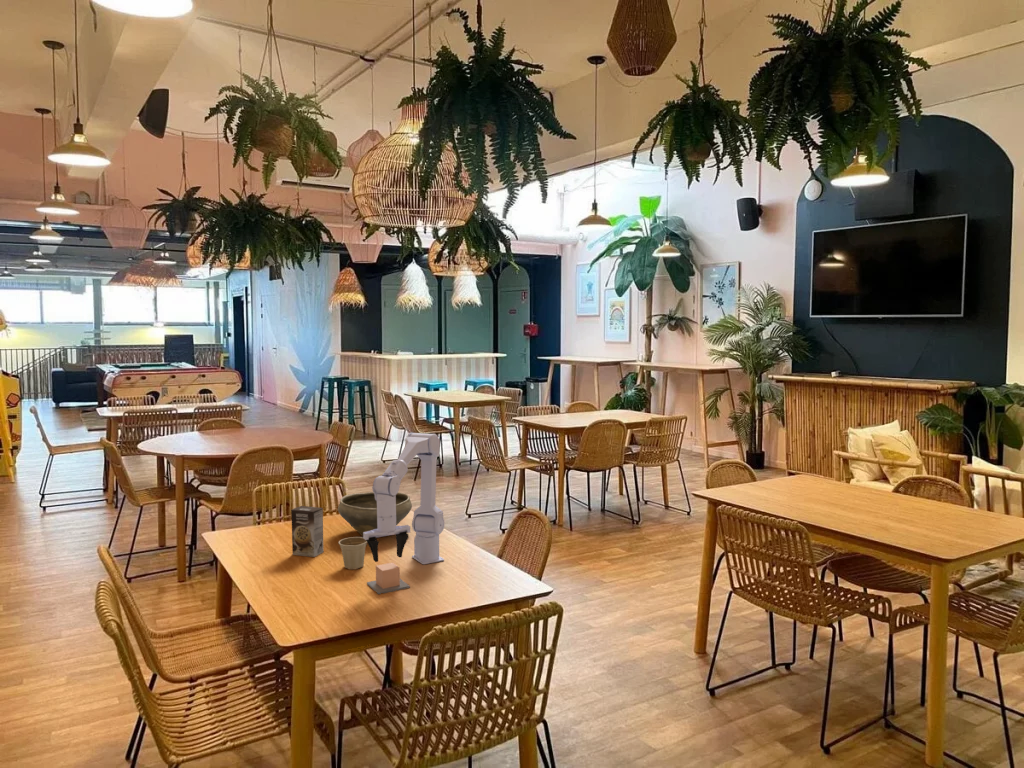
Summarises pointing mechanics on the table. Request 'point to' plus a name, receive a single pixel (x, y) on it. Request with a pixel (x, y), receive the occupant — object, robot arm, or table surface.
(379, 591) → the slate coaster
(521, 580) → the table surface
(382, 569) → the painted block
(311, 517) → the coffee box
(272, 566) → the table surface
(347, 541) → the flower pot
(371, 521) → the bowl
